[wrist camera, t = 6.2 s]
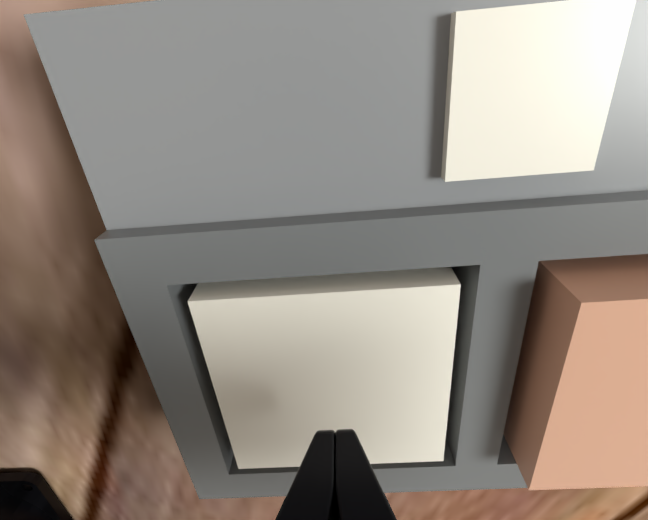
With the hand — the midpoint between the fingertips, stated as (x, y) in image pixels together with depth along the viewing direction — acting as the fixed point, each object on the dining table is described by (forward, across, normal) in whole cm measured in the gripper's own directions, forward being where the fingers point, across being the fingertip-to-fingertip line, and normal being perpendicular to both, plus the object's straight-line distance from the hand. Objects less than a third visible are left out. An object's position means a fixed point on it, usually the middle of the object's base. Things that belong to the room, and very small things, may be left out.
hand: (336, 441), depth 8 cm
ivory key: (+4, 0, 0) cm, 4 cm away
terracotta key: (+3, -8, 0) cm, 8 cm away
